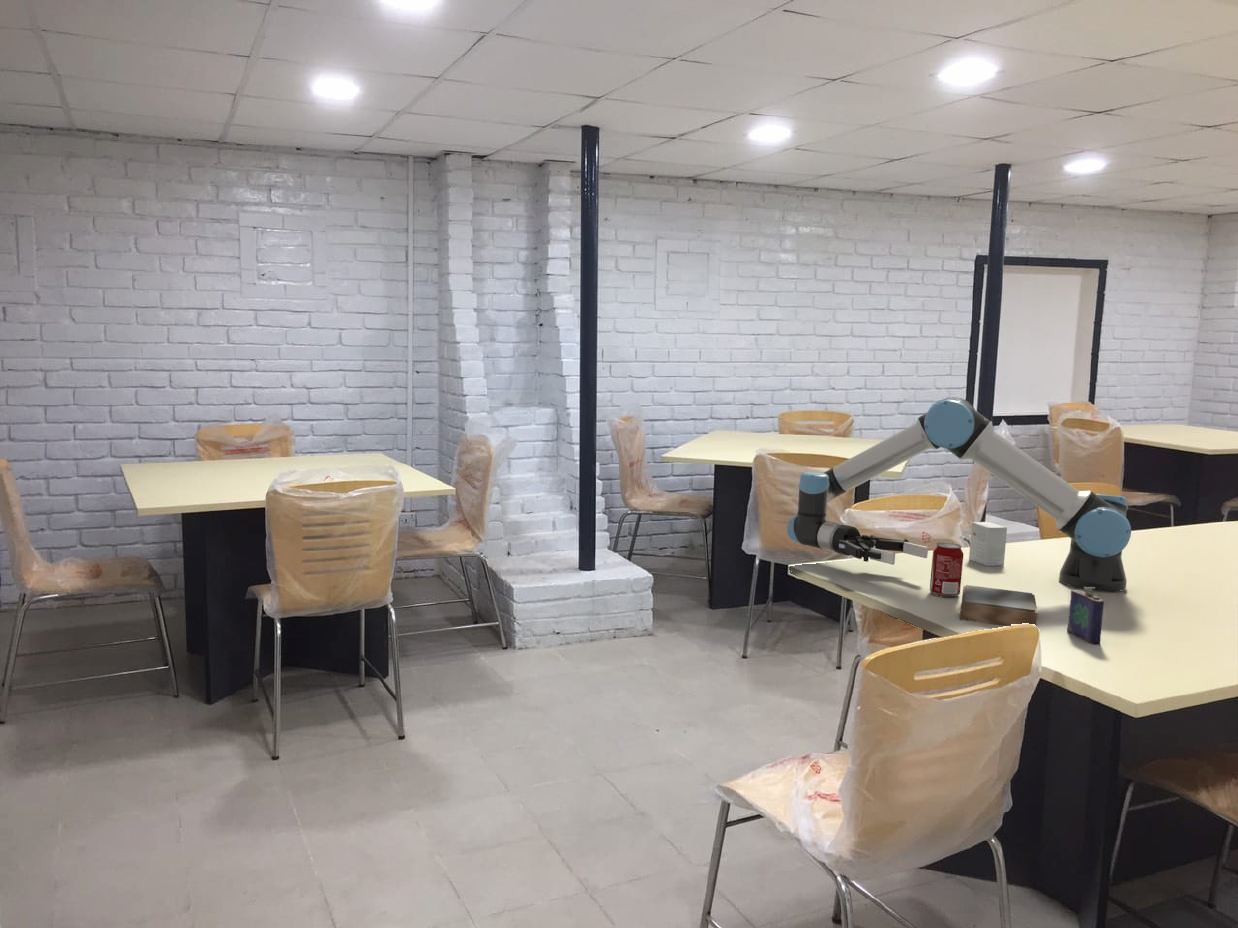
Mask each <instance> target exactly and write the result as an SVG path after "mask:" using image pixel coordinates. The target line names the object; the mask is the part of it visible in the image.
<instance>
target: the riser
mask: <svg viewBox="0 0 1238 928" xmlns="http://www.w3.org/2000/svg"><path fill="white" fill-rule="evenodd" d="M961 594H962V596H961V606H960V616H959V619H960V620H963V621H970V622H976V621H978V622H977V623H983V622H984V624H991V623H993V624H992V625H998V624H999V625H998V626H1005V625H1011V624H1022V623H1029V624H1035V625H1036V626H1037V624H1038V623H1037V622H1038V615H1039V613H1038V606H1037V601H1036V596H1035V594H1033V593H1032V592H1026V591H1018V590H1011V589H1003V588H1001V589H1000V588H996V587H995V588H994V587H993V588H992V587H985V586H978V585H970V584H969V585H968V584H965V585H963V587H962V593H961Z"/></svg>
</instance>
